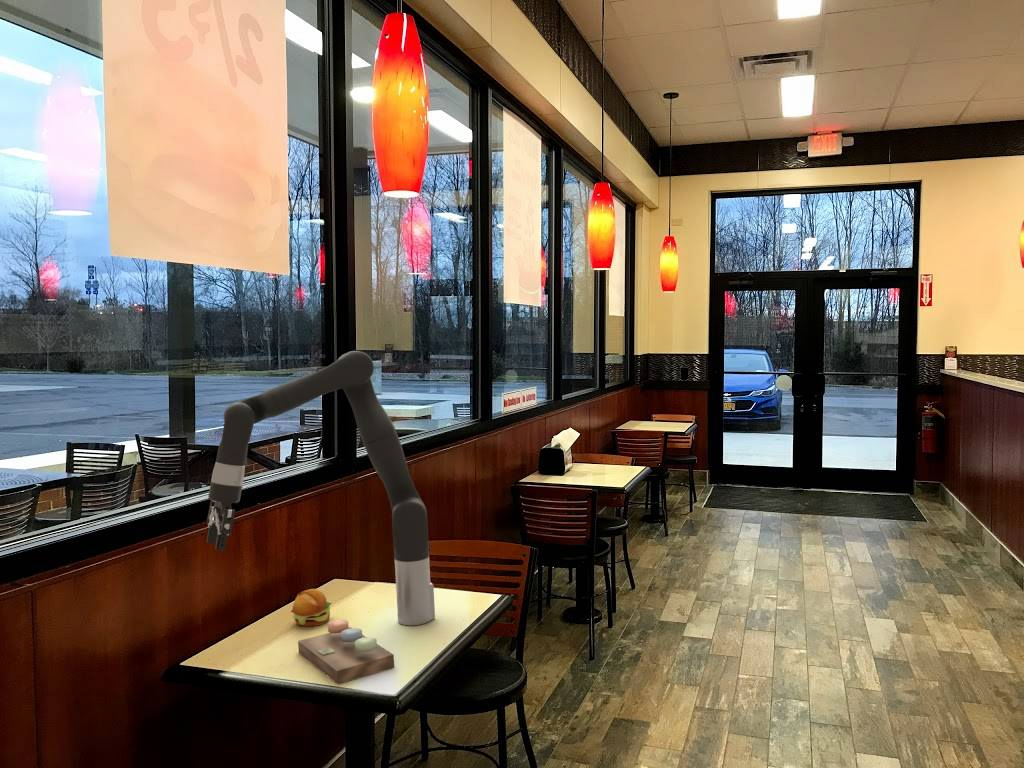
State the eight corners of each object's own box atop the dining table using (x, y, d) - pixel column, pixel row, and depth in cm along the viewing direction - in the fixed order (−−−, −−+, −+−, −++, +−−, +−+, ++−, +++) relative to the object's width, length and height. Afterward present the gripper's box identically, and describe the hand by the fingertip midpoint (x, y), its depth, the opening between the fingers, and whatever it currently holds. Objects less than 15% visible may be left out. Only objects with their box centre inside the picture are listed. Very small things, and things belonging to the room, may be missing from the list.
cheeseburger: (337, 613, 227) (333, 582, 224) (325, 636, 216) (321, 603, 213) (302, 613, 228) (297, 582, 225) (289, 636, 217) (284, 603, 214)
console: (351, 638, 207) (350, 625, 207) (394, 667, 187) (393, 653, 187) (298, 652, 199) (297, 639, 199) (337, 684, 179) (336, 669, 179)
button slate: (357, 633, 198) (356, 626, 197) (365, 638, 193) (365, 632, 193) (337, 638, 195) (337, 631, 195) (346, 644, 191) (345, 637, 190)
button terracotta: (343, 624, 204) (343, 618, 204) (351, 629, 200) (351, 623, 200) (325, 629, 201) (324, 623, 201) (332, 634, 197) (332, 628, 197)
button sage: (371, 642, 191) (370, 635, 191) (380, 648, 187) (380, 641, 187) (351, 647, 188) (351, 640, 188) (360, 653, 184) (360, 647, 184)
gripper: (250, 487, 198) (238, 553, 197) (234, 479, 209) (223, 541, 209) (219, 484, 193) (207, 552, 193) (204, 476, 205) (193, 539, 204)
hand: (215, 546), depth 201 cm, fingers open, 8 cm apart
